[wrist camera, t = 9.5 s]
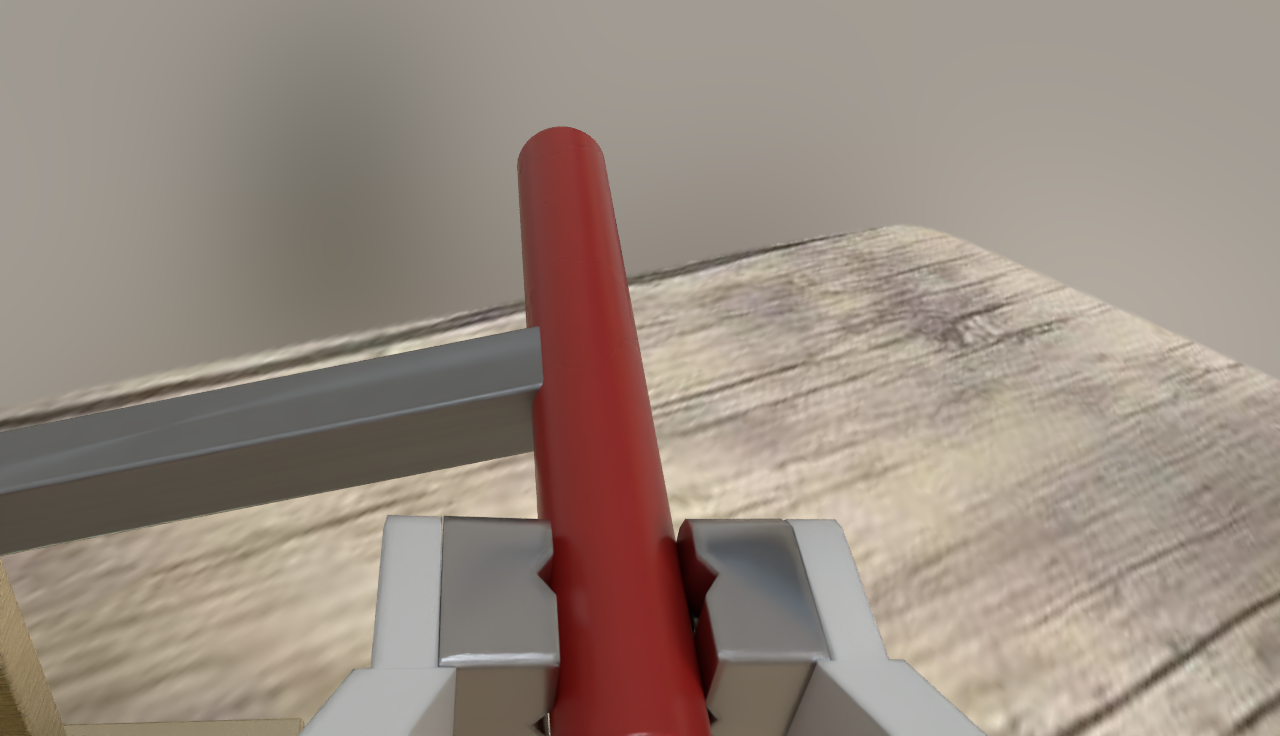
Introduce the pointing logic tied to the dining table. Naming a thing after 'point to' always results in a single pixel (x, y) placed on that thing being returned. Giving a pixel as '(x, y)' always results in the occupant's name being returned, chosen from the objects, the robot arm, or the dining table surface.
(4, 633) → the bracket
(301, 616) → the dining table surface
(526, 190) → the lever
